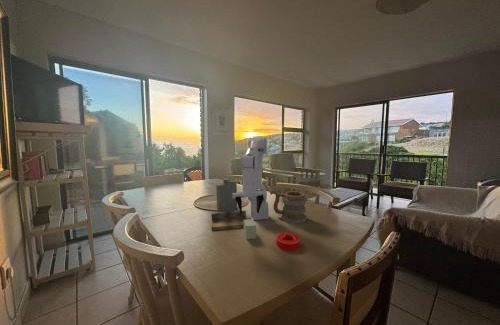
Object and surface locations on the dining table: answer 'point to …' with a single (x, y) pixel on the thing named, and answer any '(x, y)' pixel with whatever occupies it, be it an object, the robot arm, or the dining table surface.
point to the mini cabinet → (249, 229)
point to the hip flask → (226, 196)
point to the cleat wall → (228, 220)
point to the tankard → (291, 206)
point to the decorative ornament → (288, 241)
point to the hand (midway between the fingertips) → (249, 212)
